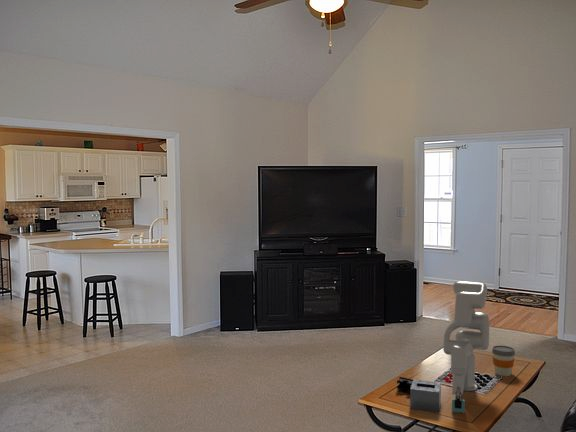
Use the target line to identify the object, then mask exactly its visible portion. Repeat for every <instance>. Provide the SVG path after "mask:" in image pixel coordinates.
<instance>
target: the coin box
mask: <svg viewBox="0 0 576 432" xmlns="http://www.w3.org/2000/svg"><path fill="white" fill-rule="evenodd" d="M412 379H413V378H412ZM441 386H442V383H441V382H439V381H430V380H429V381H428V380H422V379H413V382H412V385H411V389H410V394H409V395H410V396H409V398H410V401H409V403H410V405H409V406H410V408H409V409H413V410H420V411H426V412H427V411H428V412H435V413H440V408H441V403H442V400H441V399H442V397H441V396H442V395H441V394H442V392H441V391H442V390H441V389H442V387H441Z"/></svg>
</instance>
